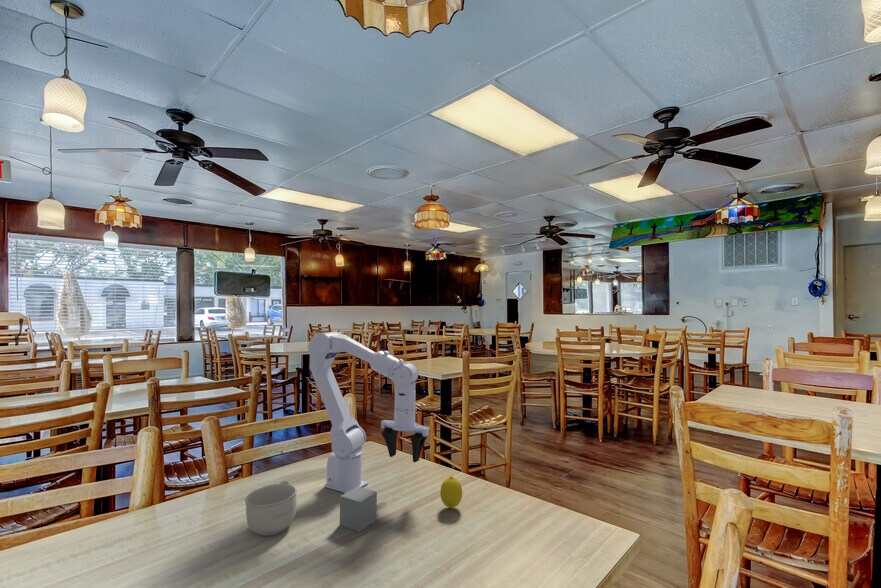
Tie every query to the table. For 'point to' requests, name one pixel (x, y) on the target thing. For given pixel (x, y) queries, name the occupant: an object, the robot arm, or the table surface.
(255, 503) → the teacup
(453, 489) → the lemon
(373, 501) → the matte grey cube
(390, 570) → the table surface
